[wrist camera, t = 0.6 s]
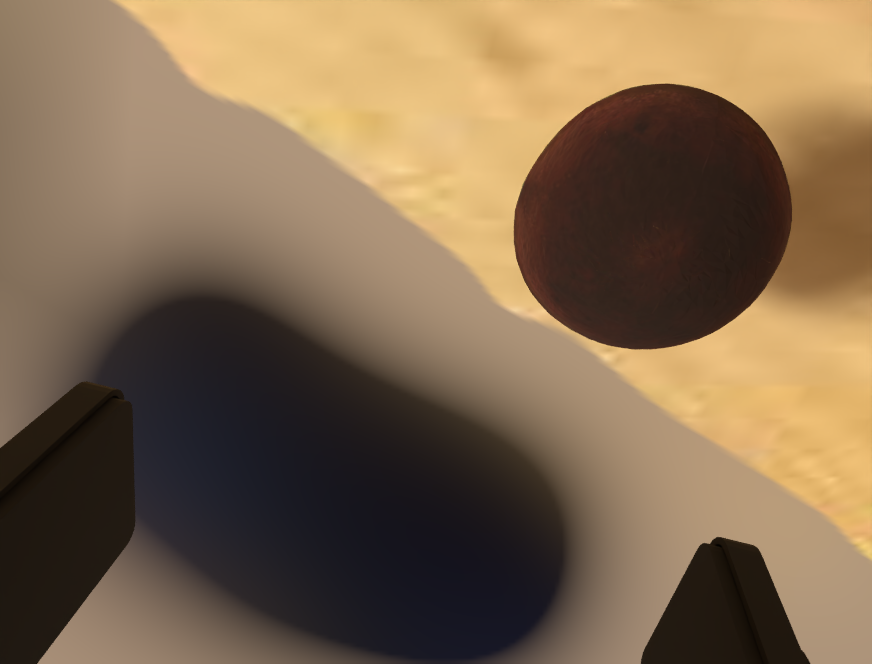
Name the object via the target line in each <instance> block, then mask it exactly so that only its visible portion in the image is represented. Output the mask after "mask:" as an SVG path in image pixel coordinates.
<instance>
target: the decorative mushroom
mask: <svg viewBox="0 0 872 664" xmlns="http://www.w3.org/2000/svg"><path fill="white" fill-rule="evenodd" d="M791 221H792V205H791V196H790V190H789V185H788V182H787V178H786V174H785V171H784V168H783V165H782V162H781V160H780V158H779V156H778V153H777V151H776V150H775V148H774V146H773V144H772V142H771V141H770V139H769V138H768V136H767V135H766V133H765V132H764V131H763V129H762V128H761V127H760V126H759V125H758V124H757V123H756V122H755V121H754V120H753V119H752V118H751V117H750V116H749V115H748V114H746V113H745V112H744V111H743V110H741V109H740V108H738V107H737V106H735V105H734V104H733V103H731V102H729V101H727V100H726V99H724V98H722V97H720V96H718V95H715V94H713V93H710V92H707V91H704V90H701V89H698V88H694V87H690V86H684V85H676V84H652V85H642V86H637V87H632V88H628V89H625V90H622V91H619V92H617V93H615V94H612V95H610V96H608V97H606V98H604V99H602V100H600V101H598V102H596V103H594V104H592V105H591V106H589V107H587V108H586V109H584V110H583V111H582V112H580V113H579V114H578V115H577V116H575V117H574V118H573V119H572V120H571V121H569V122H568V123H567V124H566V125H565V126H564V127H563V128H562V129H561V130H560V131H559V132H558V133H557V134H556V135H555V137H554V138H553V139H552V140H551V141H550V143H549V144H548V145H547V146H546V147H545V149H544V150H543V152H542V153H541V155H540V156H539V158H538V159H537V161H536V162H535V164H534V165H533V167H532V169H531V170H530V172H529V174H528V175H527V177H526V179H525V181H524V183H523V186H522V189H521V192H520V195H519V198H518V201H517V205H516V209H515V218H514V245H515V252H516V259H517V262H518V265H519V267H520V270H521V273H522V276H523V278H524V281H525V283H526V284H527V286H528V288H529V290H530V291H531V293H532V295H533V296H534V297H535V298H536V300H537V301H538V302H539V303H540V304H541V305H542V306H543V308H544V309H545V310H546V311H547V312H548V313H549V314H550V315H552V316H553V317H554V318H555V319H557V320H558V321H559V322H561V323H562V324H563V325H565V326H566V327H568V328H569V329H571V330H572V331H575V332H577V333H579V334H581V335H583V336H585V337H587V338H589V339H591V340H594V341H597V342H599V343H602V344H606V345H609V346H615V347H621V348H628V349H658V348H666V347H672V346H677V345H681V344H685V343H688V342H691V341H694V340H697V339H700V338H702V337H704V336H707V335H709V334H711V333H713V332H715V331H717V330H718V329H720V328H722V327H723V326H725V325H726V324H728V323H729V322H731V321H732V320H734V319H735V318H736V317H737V316H739V315H740V314H741V313H742V312H743V311H744V310H746V309H747V308H748V307H750V305H751V304H752V303H753V302H754V301H755V300H756V299H757V297H758V296H759V295H760V294H761V292H762V291H763V290H764V289H765V287H766V286H767V284H768V282H769V281H770V279H771V278H772V276H773V275H774V273H775V271H776V269H777V267H778V265H779V263H780V261H781V259H782V257H783V254H784V252H785V248H786V245H787V242H788V238H789V234H790V228H791Z"/></svg>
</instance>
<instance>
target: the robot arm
mask: <svg viewBox="0 0 872 664" xmlns="http://www.w3.org/2000/svg"><path fill="white" fill-rule="evenodd" d="M133 455H134V453H133V416H132V405H131V403H130V402H129V401H125V400H124V395H123V393H122V392H121V391H120V390H118V389H115V388H111V387H106V386H103V385H98V384H94V383H90V382H81V383H79V384H78V385H76V386H75V387H74V388H73V389H71V390H70V391H69V392H68V393H67V394H65V395H64V396H63V397H62V398H60V399H59V400H58V401H57V402H56V403H54V404H53V405H52V406H51V407H50V408H49V409H47V410H46V411H45V412H44V413H42V414H41V415H40V416H39V417H38V418H36V419H35V420H34V421H33V422H31V423H30V424H29V425H28V426H27V427H25V428H24V429H23V430H22V431H21V432H19V433H18V434H17V435H16V436H15V437H13V438H12V439H11V440H10V441H8V442H7V443H6V444H5V445H4V446H2V447H1V448H0V664H37V663H38V662H39V660H40V659H41V658H42V656H43V655H44V654H45V653H46V651H47V650H48V649H49V647H50V646H51V644H52V643H53V642H54V641H55V639H56V638H57V637H58V635H59V634H60V633H61V631H62V630H63V629H64V627H65V626H66V625H67V624H68V622H69V621H70V620H71V618H72V617H73V616H74V614H75V613H76V612H77V610H78V609H79V608H80V606H81V605H82V604H83V602H84V601H85V600H86V598H87V597H88V596H89V594H90V593H91V592H92V590H93V589H94V588H95V587H96V585H97V584H98V583H99V581H100V580H101V579H102V577H103V576H104V575H105V573H106V572H107V571H108V569H109V568H110V567H111V565H112V564H113V563H114V561H115V560H116V559H117V557H118V556H119V555H120V553H121V552H122V551H123V550H124V548H125V547H126V545H127V544H128V542H129V541H130V538H131V537H132V534H133V531H134V527H135V492H134V456H133ZM641 664H810V662H809V660H808V659H807V657H806V655H805V654H804V652H803V651H802V650H801V648H800V646H799V644H798V641H797V639H796V637H795V634H794V632H793V629H792V627H791V624H790V622H789V620H788V617H787V615H786V613H785V610H784V608H783V605H782V603H781V601H780V598H779V596H778V593H777V591H776V588H775V586H774V583H773V581H772V579H771V576H770V574H769V571H768V569H767V567H766V565H765V562H764V559H763V557H762V555H761V553H760V551H759V549H758V548H757V547H755V546H754V545H750V544H746V543H742V542H738V541H733V540H730V539H726V538H722V537H716V538H715V539H714V540H712V542H711V543H710V544H707V543H703V544H701V545H700V546H699V548H698V549H697V551H696V553H695V555H694V557H693V559H692V560H691V563H690V564H689V566H688V568H687V570H686V572H685V574H684V576H683V578H682V579H681V581H680V583H679V585H678V587H677V589H676V591H675V593H674V594H673V596H672V598H671V600H670V602H669V604H668V606H667V608H666V610H665V612H664V613H663V615H662V617H661V619H660V621H659V623H658V625H657V627H656V628H655V630H654V632H653V634H652V636H651V638H650V640H649V642H648V644H647V646H646V647H645V649H644V652H643V655H642V659H641Z"/></svg>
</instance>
